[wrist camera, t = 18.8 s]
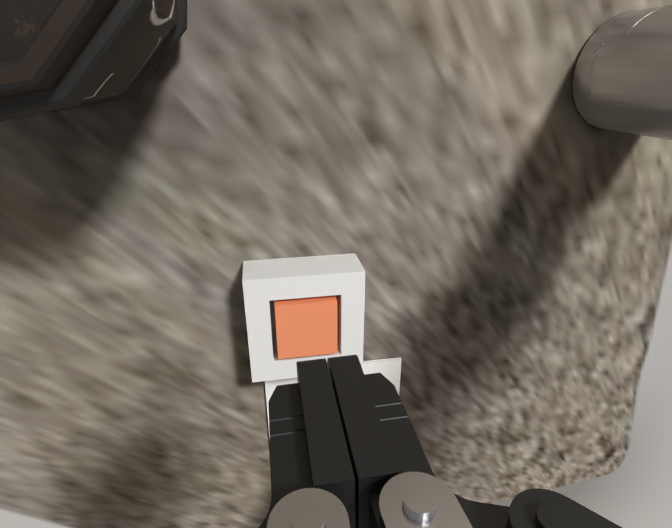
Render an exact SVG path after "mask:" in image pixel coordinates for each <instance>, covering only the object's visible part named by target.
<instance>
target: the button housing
mask: <svg viewBox="0 0 672 528" xmlns="http://www.w3.org/2000/svg"><path fill="white" fill-rule="evenodd" d="M242 283H243V293H244V304H245V314H246V324H247V334H248V345H249V355H250V365H251V375H252V383H253V382H262V381H271V380H280V379H289V378H297V365H296V362H298V361H306V360H315V359H323V358H326V361H327V358H331V357H339V356H348V355H357V356H358V358H359V361H360V364H361V367H362V370H363V337H364V300H365V270H364V268H363V266H362V265H361V263H360V261H359V259H358V258H357V256H356V254H355V253H353V254H338V255H324V256H309V257H295V258H280V259H265V260H251V261H243V276H242ZM332 295H335V296H336V299H337V353H333V354H323V355H314V356H304V357H295V358H285V359H278V351H277V340H276V325H275V310H274V300H284V299H296V298H308V297H320V296H332Z"/></svg>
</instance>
